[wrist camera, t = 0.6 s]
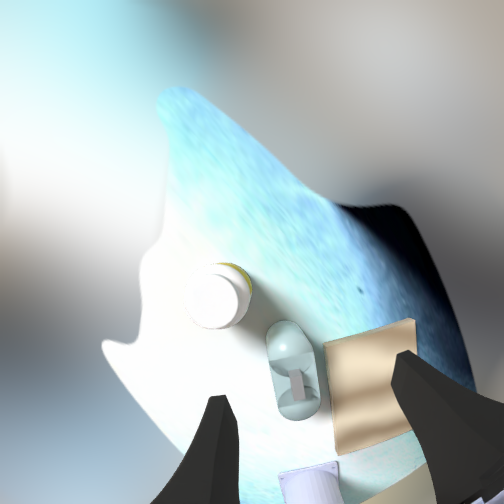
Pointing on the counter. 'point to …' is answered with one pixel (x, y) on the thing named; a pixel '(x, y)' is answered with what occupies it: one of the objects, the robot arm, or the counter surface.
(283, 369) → the grey capsule with tab
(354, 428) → the cutting board
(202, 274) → the supplement bottle
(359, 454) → the counter surface
